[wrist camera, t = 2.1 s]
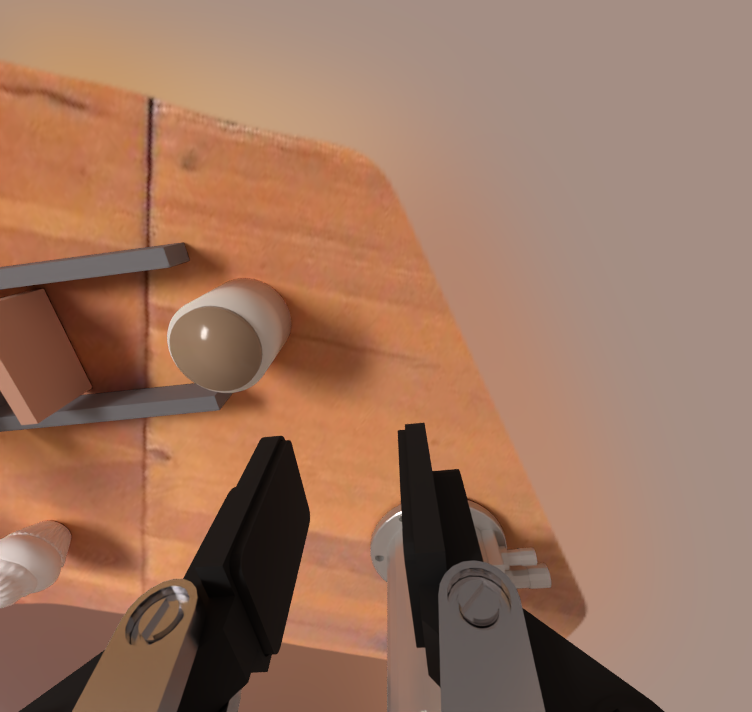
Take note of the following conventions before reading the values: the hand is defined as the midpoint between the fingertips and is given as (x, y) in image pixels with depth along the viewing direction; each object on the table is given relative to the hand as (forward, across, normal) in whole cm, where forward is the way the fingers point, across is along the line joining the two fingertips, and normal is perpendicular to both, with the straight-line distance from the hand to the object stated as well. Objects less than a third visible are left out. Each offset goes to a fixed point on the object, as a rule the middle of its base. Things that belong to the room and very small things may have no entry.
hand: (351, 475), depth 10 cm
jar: (+17, +9, 0) cm, 20 cm away
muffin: (+17, +34, +19) cm, 43 cm away
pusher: (+17, +24, 0) cm, 29 cm away
